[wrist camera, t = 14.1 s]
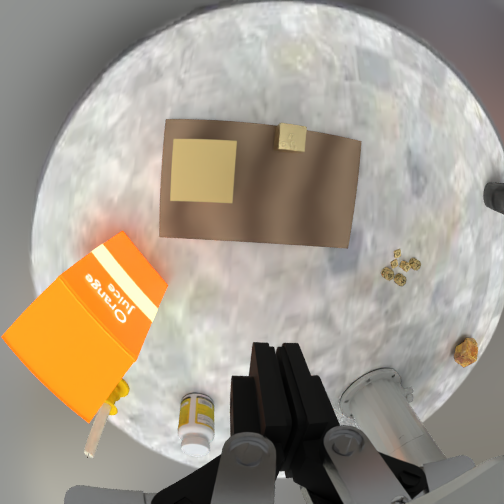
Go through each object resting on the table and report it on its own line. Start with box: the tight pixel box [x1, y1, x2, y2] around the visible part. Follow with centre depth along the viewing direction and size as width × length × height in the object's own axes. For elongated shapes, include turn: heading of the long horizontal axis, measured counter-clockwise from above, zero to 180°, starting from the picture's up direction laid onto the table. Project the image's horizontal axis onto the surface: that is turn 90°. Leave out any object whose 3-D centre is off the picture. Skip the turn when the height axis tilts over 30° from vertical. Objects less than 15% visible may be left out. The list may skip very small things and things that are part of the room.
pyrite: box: [454, 338, 478, 367], centre depth 40 cm, size 5×7×4 cm
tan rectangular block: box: [170, 139, 237, 203], centre depth 24 cm, size 5×5×7 cm
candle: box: [84, 379, 129, 458], centre depth 29 cm, size 5×5×16 cm
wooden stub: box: [273, 123, 307, 154], centre depth 26 cm, size 3×3×3 cm
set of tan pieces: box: [381, 249, 421, 286], centre depth 34 cm, size 5×5×2 cm
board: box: [159, 119, 361, 248], centre depth 29 cm, size 22×13×1 cm, turn 85°
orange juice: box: [2, 231, 168, 423], centre depth 22 cm, size 8×9×20 cm
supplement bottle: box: [178, 394, 214, 456], centre depth 34 cm, size 5×5×10 cm
